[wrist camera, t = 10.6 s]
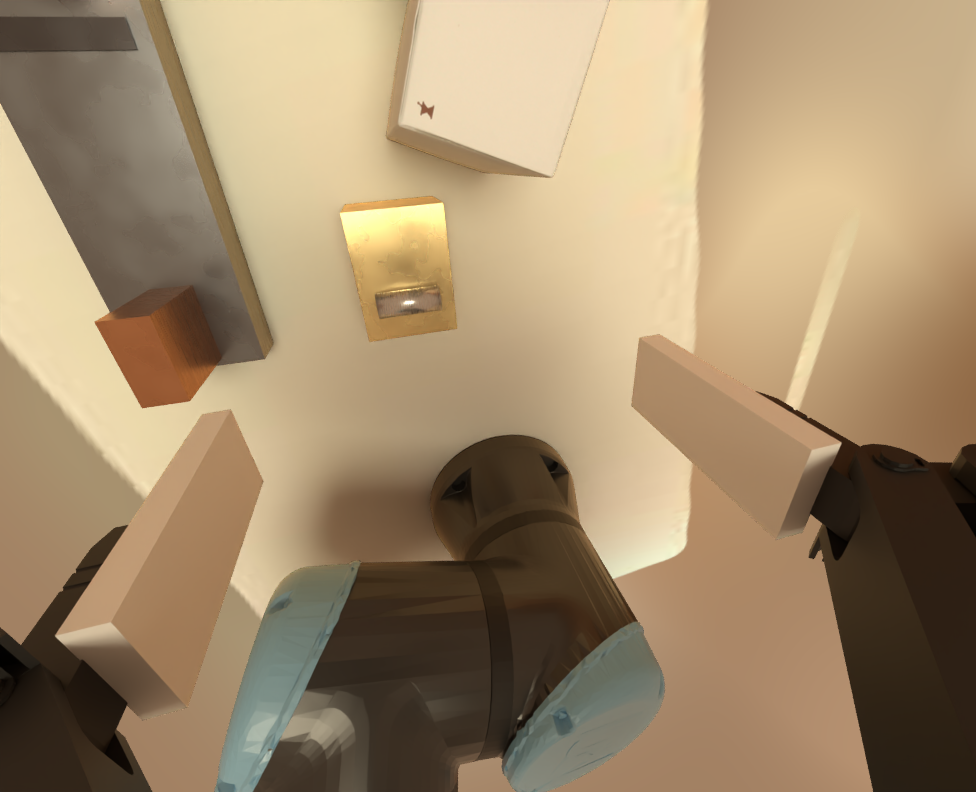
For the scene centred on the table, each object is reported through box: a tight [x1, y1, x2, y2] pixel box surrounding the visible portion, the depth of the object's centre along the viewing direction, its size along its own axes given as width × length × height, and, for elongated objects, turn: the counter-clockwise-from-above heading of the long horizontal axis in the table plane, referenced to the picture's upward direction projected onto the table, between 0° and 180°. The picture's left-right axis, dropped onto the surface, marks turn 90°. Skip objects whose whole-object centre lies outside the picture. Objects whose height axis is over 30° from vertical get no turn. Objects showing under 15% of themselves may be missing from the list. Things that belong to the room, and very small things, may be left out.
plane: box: [0, 0, 273, 408], centre depth 21 cm, size 24×8×9 cm, turn 3°
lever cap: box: [340, 196, 457, 342], centre depth 28 cm, size 8×6×7 cm
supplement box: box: [386, 0, 610, 178], centre depth 22 cm, size 7×7×13 cm
